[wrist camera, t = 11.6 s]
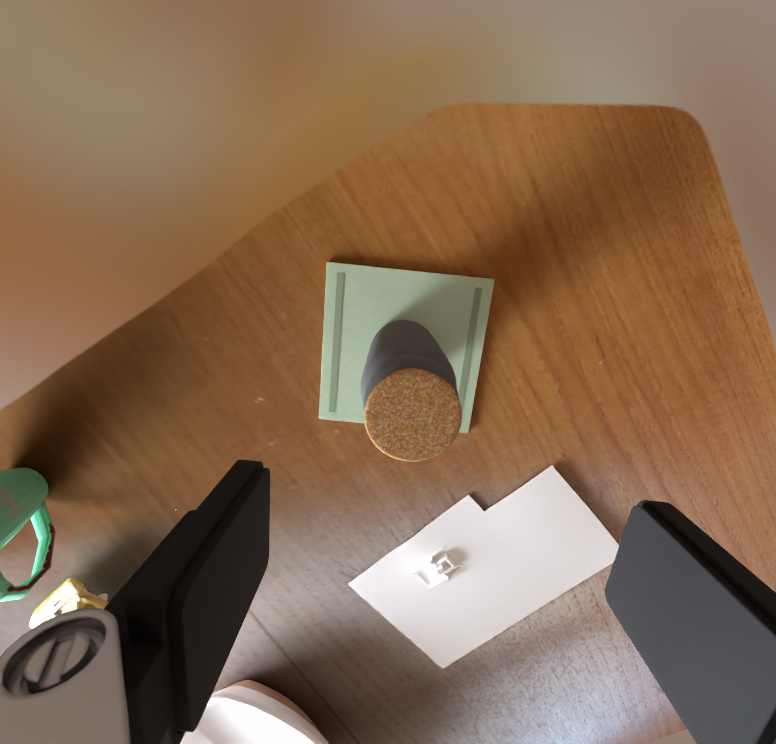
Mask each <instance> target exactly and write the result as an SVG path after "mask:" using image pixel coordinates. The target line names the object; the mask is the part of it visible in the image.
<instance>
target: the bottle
mask: <svg viewBox="0 0 776 744" xmlns="http://www.w3.org/2000/svg"><path fill="white" fill-rule="evenodd" d="M361 396H362V400H363V410H364V421H365V427H366V430H367V433H368V435H369V437H370V439H371V440H372V442H373V443H374V444H375V446H377V447H378V448H379V449H380V450H381V451H382V452H383V453H385V454H387V455H388V456H390V457H392V458H395V459H398V460H402V461H423V460H427V459H430V458H433V457H435V456H436V455H438V454H440V453H442V452H443V451H445V450H446V449H447V448H448V447H449V446H450V445H451V444H452V442H453V441H454V440H455V438H456V436H457V434H458V432H459V430H460V427H461V422H462V408H461V403H460V400H459V395H458V391H457V384H456V376H455V373H454V370H453V368H452V366H451V364H450V362H449V360H448V359H447V357H446V355H445V354H444V352H443V351H442V349H441V348H440V346H439V345H438V343H437V342H436V340H435V339H434V338H433V336H432V335H431V334H430V332H429V331H428V330H427V329H426V328H425V327H423V326H422V325H420V324H418V323H416V322H413V321H409V320H398V321H393V322H391V323H388V324H387V325H385V326H383V327H382V328H381V329H380V330H379V331H378V332H377V333H376V335H375V337H374V338H373V340H372V343H371V346H370V349H369V352H368V356H367V359H366V362H365V366H364V369H363V374H362V379H361Z"/></svg>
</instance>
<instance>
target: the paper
mask: <svg viewBox="0 0 776 744" xmlns="http://www.w3.org/2000/svg"><path fill="white" fill-rule="evenodd" d="M618 548H619V544H618V543H617V542H616V541H615V540H614V538H613V537H612V536H611V535H610V533H609V532H608V531H607V530H606V528H605V527H604V526H603V525H602V523H601V522H600V521H599V520H598V519H597V517H596V516H595V515H594V514H593V513H592V511H591V510H590V509H589V508H588V507H587V506H586V504H585V503H584V502H583V501H582V500H581V499H580V497H579V496H578V495H577V494H576V493H575V492H574V490H573V489H572V488H571V487H570V486H569V485H568V483H567V482H566V481H565V480H564V479H563V478H562V476H561V475H560V474H559V473H558V472H557V471H556V469H555V468H554V467H553V466H552V465H551V466H550V467H549V468H547V469H546V470H544V471H543V472H542V473H540V474H539V475H537V476H536V477H535V478H533V479H532V480H530V481H529V482H527V483H526V484H524V485H523V486H522V487H520V488H519V489H517V490H516V491H514V492H513V493H511V494H510V495H508V496H507V497H505V498H504V499H502V500H501V501H499V502H498V503H496V504H494V505H493V506H491V507H490V508H488V509H487V510H486V511H483V510H482V509H481V507H480V506H479V505H478V504H477V503H476V502H475V501H474V500H473V499H472V498H471V497H470V496H469V495H468V496H466V497H465V498H463V499H462V500H461V501H459V502H458V503H456V504H455V505H454V506H452V507H451V508H449V509H448V510H447V511H445V512H444V513H443V514H441V515H440V516H439V517H437V518H436V519H435V520H433V521H432V522H431V523H429V524H428V525H427V526H426V527H425V528H423V529H422V530H421V531H420V532H418V533H417V534H416V535H414V536H413V537H412V538H410V539H409V540H408V541H406V542H405V543H403V544H402V545H400V546H399V547H397V548H396V549H394V550H393V551H391V552H390V553H388V554H387V555H386V556H384V557H383V558H381V559H380V560H379V561H378V562H376V563H375V564H374V565H372V566H371V567H370V568H369V569H367V570H366V571H365V572H363V573H362V574H361V575H359V576H358V577H356V578H355V579H354V580H352V581H351V582H349V583H348V585H349V586H350V587H351V588H353V589H354V590H355V591H356V592H357V593H358V594H359V595H360V596H361V597H362V598H364V599H365V600H366V601H367V602H368V603H369V604H370V605H371V606H372V607H374V608H375V609H376V610H377V611H378V612H379V613H380V614H381V615H382V616H383V617H385V618H386V619H387V620H388V621H389V622H390V623H391V624H392V625H393V626H395V627H396V628H397V629H398V630H399V631H400V632H401V633H403V634H404V635H405V636H407V637H408V638H409V639H410V640H411V641H412V642H413V643H414V644H415V645H417V646H418V647H419V648H420V649H421V650H422V651H423V652H424V653H425V654H426V655H428V656H429V657H430V658H431V659H432V660H433V661H434V662H435V663H436V664H438V665H439V666H440V667H441V668H442V669H444V668H445V667H447V666H448V665H450V664H452V663H453V662H455V661H456V660H458V659H459V658H461V657H463V656H464V655H466V654H467V653H469V652H471V651H472V650H474V649H475V648H477V647H479V646H480V645H482V644H483V643H485V642H487V641H488V640H490V639H491V638H493V637H495V636H496V635H498V634H499V633H501V632H502V631H504V630H505V629H507V628H509V627H510V626H512V625H513V624H515V623H517V622H518V621H520V620H521V619H523V618H525V617H526V616H528V615H529V614H531V613H533V612H534V611H536V610H537V609H539V608H541V607H542V606H544V605H546V604H547V603H549V602H550V601H552V600H553V599H555V598H557V597H558V596H560V595H561V594H563V593H565V592H566V591H568V590H569V589H571V588H573V587H574V586H576V585H577V584H579V583H581V582H582V581H584V580H586V579H587V578H589V577H591V576H592V575H594V574H596V573H597V572H599V571H601V570H602V569H604V568H606V567H607V566H609V565H611V564H612V563H614V560H615V557H616V554H617V551H618Z"/></svg>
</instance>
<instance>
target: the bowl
mask: <svg viewBox="0 0 776 744" xmlns="http://www.w3.org/2000/svg"><path fill="white" fill-rule="evenodd" d="M180 744H329V743H328V742H327V741H326V739H325V738H324V737H323V736H322V734H321V733H320V732H319V730H318V729H317V728H316V726H315V725H314V723H313V722H312V721H311V719H310V718H309V717H308V716H307V715H306V714H305V713H304V712H303V711H302V710H301V709H300V708H299V707H298V706H297V705H296V704H295V703H293V702H292V701H291V700H290V699H288V698H287V697H285V696H283V695H282V694H280V693H279V692H277V691H275V690H273V689H271V688H269V687H267V686H265V685H263V684H261V683H258V682H255V681H252V680H243V681H240V682H237V683H234V684H232V685H230V686H228V687H226V688H224V689H221V690H218V691H216V692H214V693H212V695H211V697H210V699H209V702H208V704H207V706H206V708H205V711H204V713H203V715H202V718H201V720H200V722H199V724H198V726H197V728H196V729H195V730H194V731H193V732H185V734H184V736H183V739H182V741H181V743H180Z"/></svg>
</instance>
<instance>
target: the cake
mask: <svg viewBox="0 0 776 744" xmlns="http://www.w3.org/2000/svg"><path fill="white" fill-rule="evenodd" d="M176 509H177V507H176V508H175V510H176ZM89 592H91V591H89ZM89 592H87V591H86V590H85V587H84V585H83V583H81V582H80V581H78V580H77V579H75V578H68V579H67V580H66V581H65V582H64V583H63V584H62V585H61V586H60V587H59V588H58V589H56V590H55V591H54V592H53V593H52V594H51V595H50V596H49V597H48V598H47V599H46V600H45V601H43V602H42V603H41V604H40V605H39V606H38V607H37V608H36V609H35V610H34V612H33V615H32V617H31V619H30V627H32V628H34V627H36V626H37V625H39V624H40V623H42V622H45V621H47V620H49V619H51V618H53V617H55V616H57V615H59V614H63V613H66V612H69V611H73V610H76V609H83V608H99V609H104V608H105V607H106V606H107V604H108V602H106V601H107V594H104V593H103V594H100V595H98V596H95V595H93V594H91V593H89Z"/></svg>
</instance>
